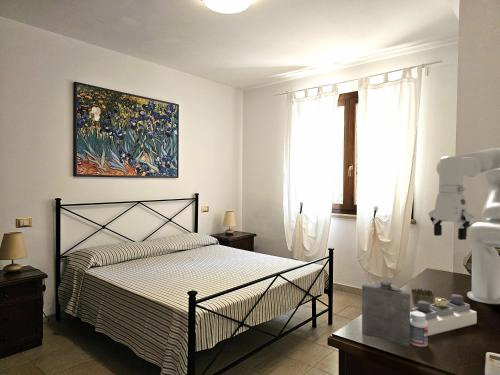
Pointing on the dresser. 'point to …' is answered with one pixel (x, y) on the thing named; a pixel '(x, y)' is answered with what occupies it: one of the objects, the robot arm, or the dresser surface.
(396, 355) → the dresser surface
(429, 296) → the olive hollow bell-shaped piece
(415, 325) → the pill bottle
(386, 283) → the flask
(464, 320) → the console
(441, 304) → the brass knob
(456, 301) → the button
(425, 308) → the button
